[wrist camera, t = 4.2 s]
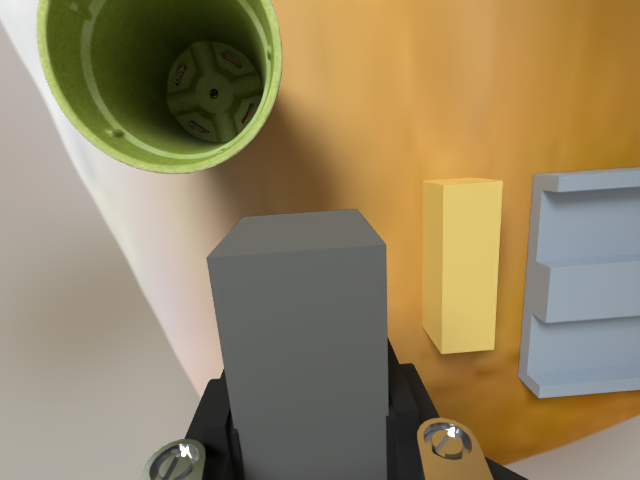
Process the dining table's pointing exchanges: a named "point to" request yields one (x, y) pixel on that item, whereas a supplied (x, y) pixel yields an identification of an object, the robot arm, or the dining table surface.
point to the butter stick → (460, 262)
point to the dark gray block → (305, 344)
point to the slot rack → (582, 284)
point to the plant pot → (162, 76)
